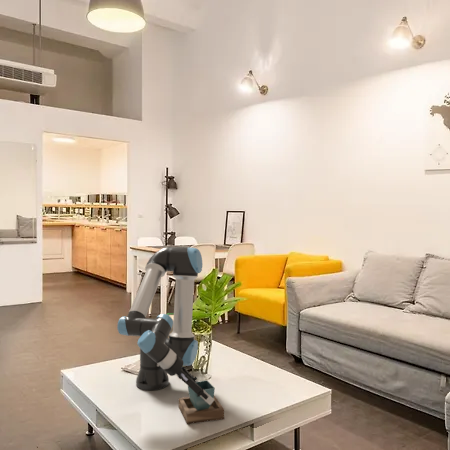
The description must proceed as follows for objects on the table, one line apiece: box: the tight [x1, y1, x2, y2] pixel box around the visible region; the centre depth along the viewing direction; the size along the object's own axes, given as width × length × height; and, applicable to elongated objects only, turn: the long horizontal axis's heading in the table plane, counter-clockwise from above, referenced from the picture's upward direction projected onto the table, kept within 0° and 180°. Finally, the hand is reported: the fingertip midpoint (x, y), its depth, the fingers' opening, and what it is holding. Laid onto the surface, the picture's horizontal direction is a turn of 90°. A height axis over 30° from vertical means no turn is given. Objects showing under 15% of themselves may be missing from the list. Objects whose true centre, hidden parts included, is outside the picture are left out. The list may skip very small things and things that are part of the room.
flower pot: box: [187, 379, 216, 410], centre depth 180 cm, size 9×9×9 cm
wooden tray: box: [178, 395, 225, 425], centre depth 180 cm, size 15×15×4 cm
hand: (208, 397), depth 181 cm, fingers closed on flower pot, 9 cm apart
